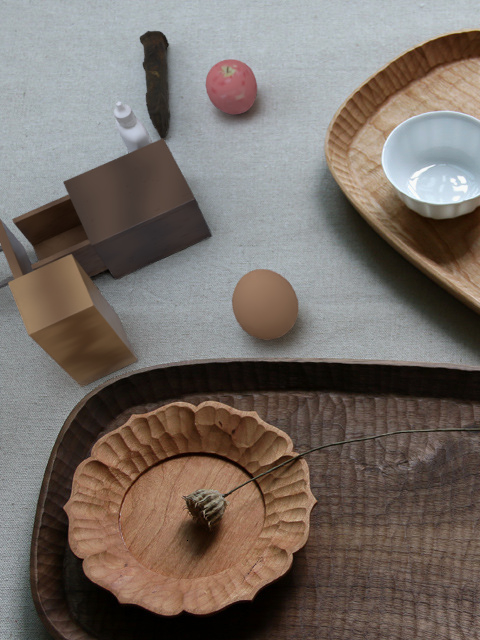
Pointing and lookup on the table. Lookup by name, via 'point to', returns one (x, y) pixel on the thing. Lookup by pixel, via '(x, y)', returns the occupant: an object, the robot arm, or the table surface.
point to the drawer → (49, 240)
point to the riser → (72, 320)
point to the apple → (231, 86)
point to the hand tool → (156, 79)
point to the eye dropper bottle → (130, 128)
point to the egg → (265, 304)
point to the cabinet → (137, 209)
